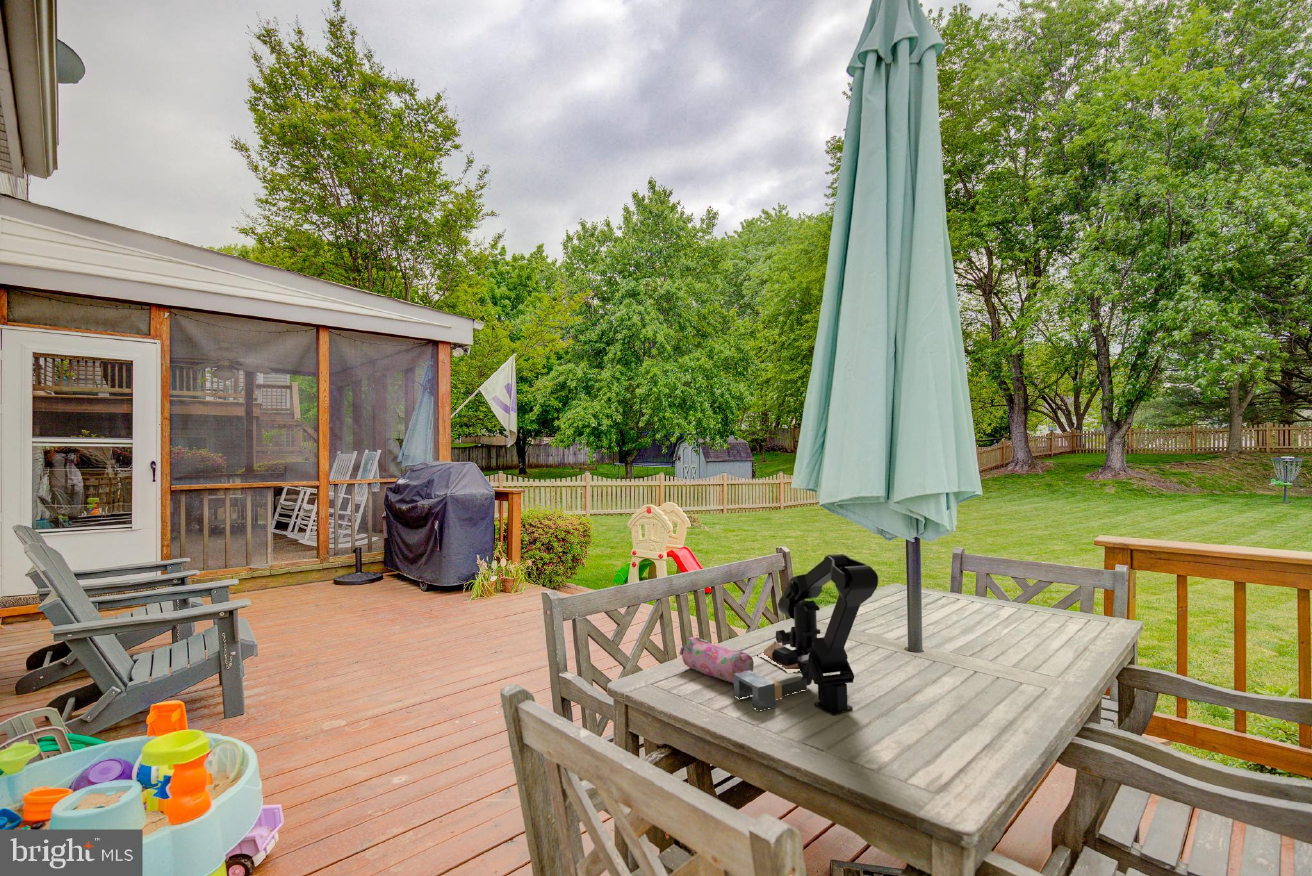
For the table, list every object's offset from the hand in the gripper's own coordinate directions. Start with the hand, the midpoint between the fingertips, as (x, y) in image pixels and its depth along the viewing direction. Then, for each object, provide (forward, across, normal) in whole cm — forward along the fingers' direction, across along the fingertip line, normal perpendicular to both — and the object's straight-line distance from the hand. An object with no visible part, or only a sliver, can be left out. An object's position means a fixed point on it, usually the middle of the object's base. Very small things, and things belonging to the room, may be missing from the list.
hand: (807, 684), depth 146 cm
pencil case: (+1, +16, -19) cm, 25 cm away
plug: (+1, +8, 0) cm, 8 cm away
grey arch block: (+1, +18, 0) cm, 18 cm away
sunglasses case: (+2, -6, -18) cm, 19 cm away
